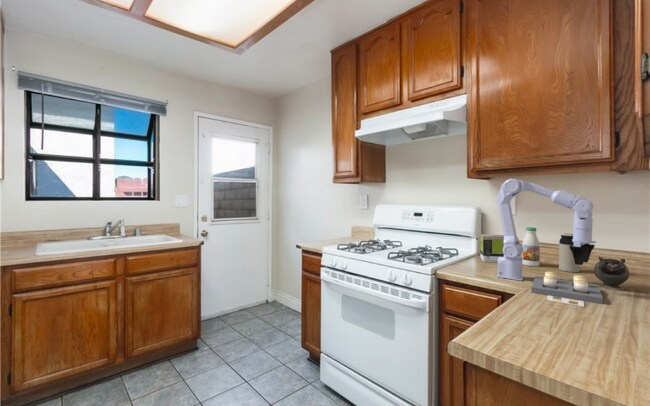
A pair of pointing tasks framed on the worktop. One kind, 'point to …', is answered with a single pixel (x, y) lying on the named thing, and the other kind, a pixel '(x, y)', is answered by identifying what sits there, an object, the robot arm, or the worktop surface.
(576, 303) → the card
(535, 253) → the milk bottle
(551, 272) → the far-left button
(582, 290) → the near-right button
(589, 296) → the button board
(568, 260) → the travel mug
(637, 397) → the worktop surface
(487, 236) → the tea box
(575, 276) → the far-right button
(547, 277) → the near-left button
